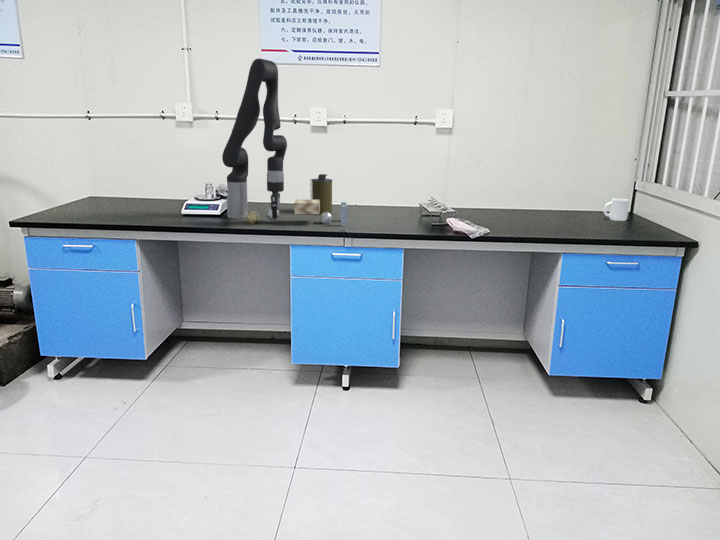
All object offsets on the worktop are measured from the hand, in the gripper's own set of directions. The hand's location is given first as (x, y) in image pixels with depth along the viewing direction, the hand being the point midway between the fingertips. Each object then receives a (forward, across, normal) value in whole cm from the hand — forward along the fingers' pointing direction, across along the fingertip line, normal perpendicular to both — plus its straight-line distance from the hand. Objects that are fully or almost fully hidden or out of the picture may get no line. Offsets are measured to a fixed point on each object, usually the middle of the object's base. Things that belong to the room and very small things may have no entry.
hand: (275, 217), depth 256 cm
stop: (+2, 0, +31) cm, 31 cm away
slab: (-3, 0, +15) cm, 15 cm away
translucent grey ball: (-3, 0, +22) cm, 23 cm away
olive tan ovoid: (0, 0, -13) cm, 13 cm away
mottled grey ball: (-2, 0, -4) cm, 4 cm away
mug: (0, -19, +168) cm, 169 cm away
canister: (+3, -26, +20) cm, 33 cm away
